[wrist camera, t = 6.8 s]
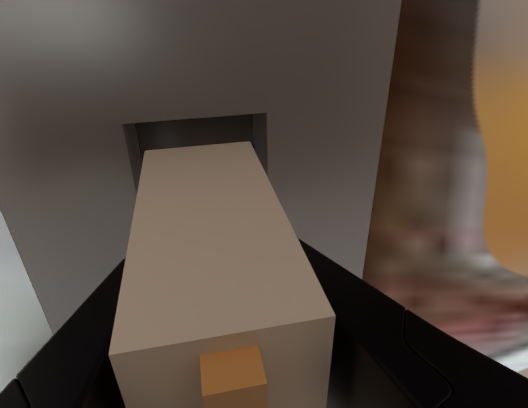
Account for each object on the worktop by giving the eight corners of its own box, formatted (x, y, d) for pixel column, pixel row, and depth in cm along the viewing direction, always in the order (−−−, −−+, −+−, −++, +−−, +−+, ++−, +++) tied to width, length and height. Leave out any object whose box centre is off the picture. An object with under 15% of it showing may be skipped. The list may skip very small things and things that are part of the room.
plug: (252, 226, 13) (334, 474, 6) (161, 238, 12) (146, 521, 6) (249, 141, 11) (352, 350, 5) (144, 150, 11) (100, 400, 4)
